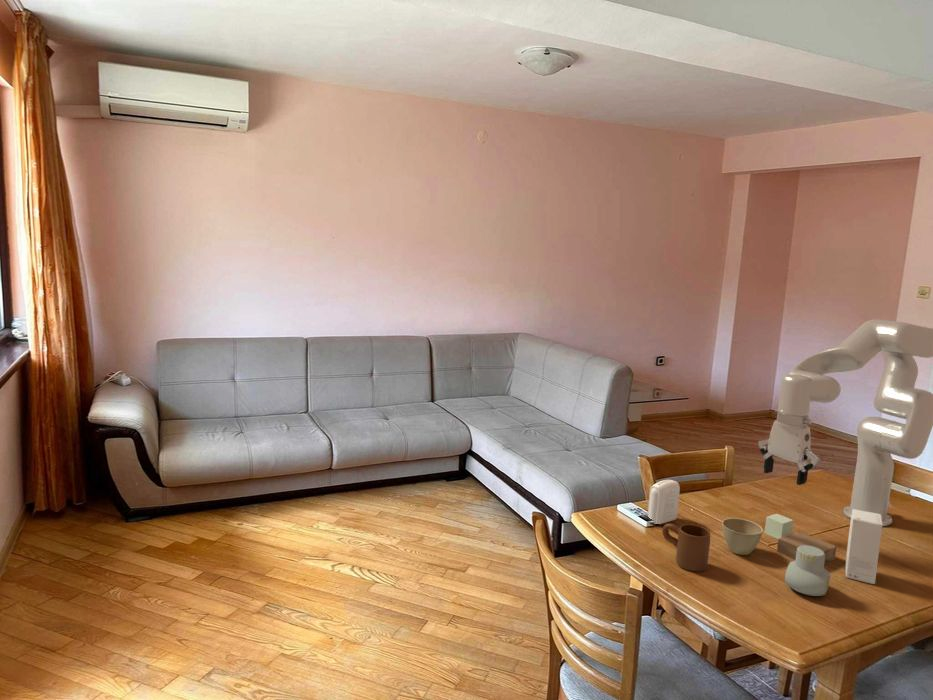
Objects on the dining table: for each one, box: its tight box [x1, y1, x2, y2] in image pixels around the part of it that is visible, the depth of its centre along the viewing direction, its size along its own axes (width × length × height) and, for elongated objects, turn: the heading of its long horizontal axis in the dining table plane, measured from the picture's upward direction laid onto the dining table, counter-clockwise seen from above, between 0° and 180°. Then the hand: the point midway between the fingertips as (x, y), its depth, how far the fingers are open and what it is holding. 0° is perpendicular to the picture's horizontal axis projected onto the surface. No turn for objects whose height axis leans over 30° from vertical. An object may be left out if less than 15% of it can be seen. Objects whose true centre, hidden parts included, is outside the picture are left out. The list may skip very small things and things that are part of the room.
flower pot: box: [721, 517, 764, 556], centre depth 166 cm, size 10×10×7 cm
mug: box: [661, 523, 711, 573], centre depth 158 cm, size 12×8×9 cm, turn 50°
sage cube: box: [764, 513, 794, 540], centre depth 176 cm, size 5×5×5 cm
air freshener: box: [784, 545, 831, 597], centre depth 147 cm, size 11×8×10 cm
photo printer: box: [646, 479, 681, 525], centre depth 182 cm, size 10×4×12 cm, turn 123°
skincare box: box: [845, 509, 883, 585], centre depth 155 cm, size 8×7×16 cm
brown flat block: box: [776, 531, 837, 565], centre depth 165 cm, size 10×10×4 cm
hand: (784, 478), depth 174 cm, fingers open, 9 cm apart
